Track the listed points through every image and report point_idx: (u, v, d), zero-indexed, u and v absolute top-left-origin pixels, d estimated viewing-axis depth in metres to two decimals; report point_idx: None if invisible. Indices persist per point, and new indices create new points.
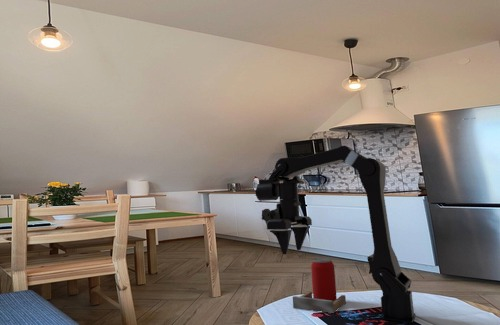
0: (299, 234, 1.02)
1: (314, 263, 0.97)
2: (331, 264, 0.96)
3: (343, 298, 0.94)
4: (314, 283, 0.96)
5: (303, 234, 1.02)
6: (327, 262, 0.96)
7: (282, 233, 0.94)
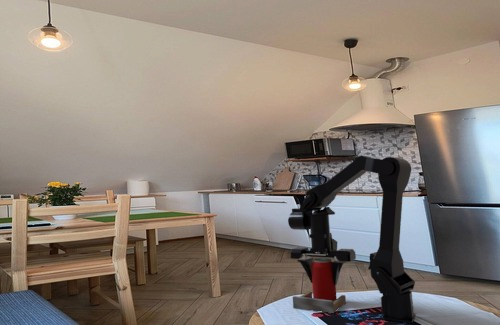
0: None
1: (314, 263, 0.97)
2: (331, 264, 0.96)
3: (343, 298, 0.94)
4: (314, 283, 0.96)
5: None
6: (327, 262, 0.96)
7: None
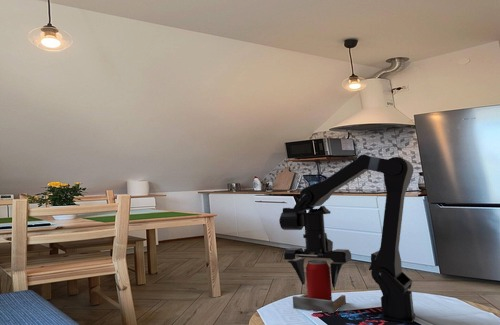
0: None
1: (309, 265, 0.94)
2: (326, 266, 0.93)
3: (343, 298, 0.94)
4: (309, 285, 0.93)
5: None
6: (322, 264, 0.92)
7: None
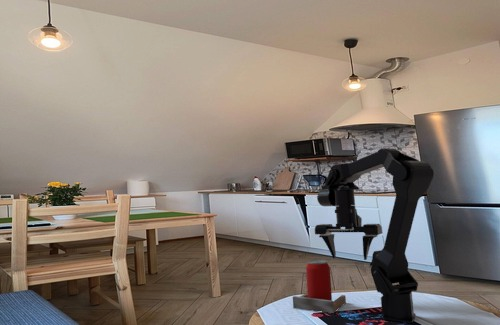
0: None
1: (309, 265, 0.94)
2: (327, 266, 0.93)
3: (343, 298, 0.94)
4: (309, 285, 0.93)
5: None
6: (322, 264, 0.93)
7: None
